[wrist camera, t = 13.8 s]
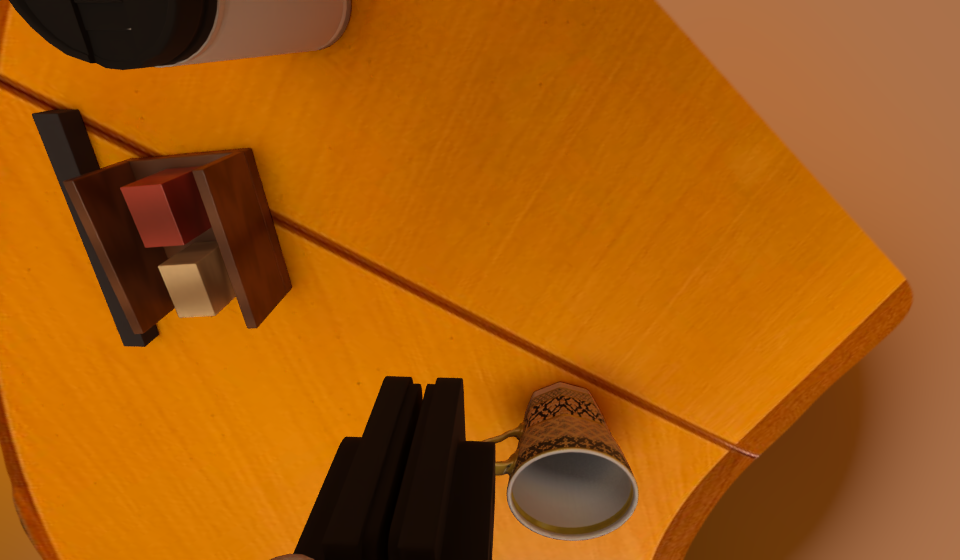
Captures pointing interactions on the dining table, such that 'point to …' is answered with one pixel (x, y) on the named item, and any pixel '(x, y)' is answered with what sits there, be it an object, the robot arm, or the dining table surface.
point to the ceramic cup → (567, 468)
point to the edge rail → (69, 161)
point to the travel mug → (183, 29)
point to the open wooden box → (183, 235)
